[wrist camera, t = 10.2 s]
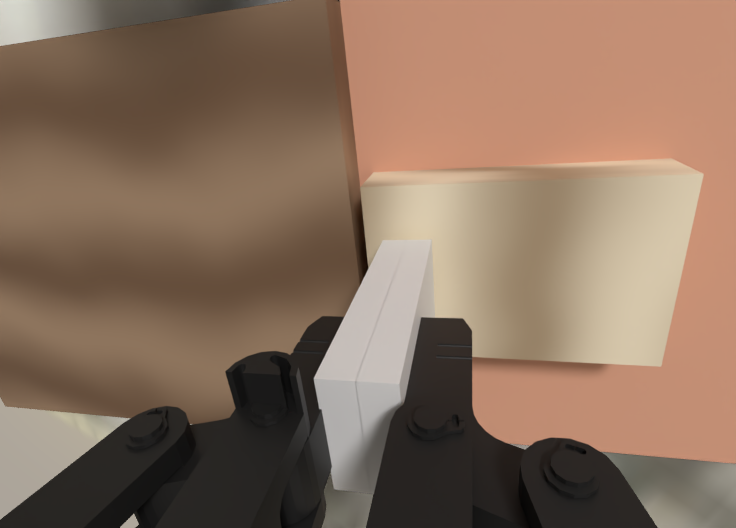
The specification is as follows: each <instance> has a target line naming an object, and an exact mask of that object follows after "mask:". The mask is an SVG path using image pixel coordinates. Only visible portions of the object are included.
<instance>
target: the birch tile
mask: <svg viewBox="0 0 736 528" xmlns="http://www.w3.org/2000/svg"><path fill="white" fill-rule="evenodd" d="M703 176H704V174H703V173H701V172H699V171H697V170H695V169H693V168H691V167H688V166H686V165H684V164H682V163H680V162H678V161H676V160H674V159H672V158H669V159H647V160H626V161H605V162H584V163H562V164H541V165H520V166H498V167H477V168H456V169H434V170H413V171H392V172H373V173H372V175H371V176H370V177H369V178H368V179H367V180H366V181H365V182H364V184H363V185H362V186H361V187H360V191H361V201H362V211H363V220H364V230H365V240H366V250H367V260H368V269H369V267H370V265H371V263H372V261H373V259H374V257H375V255H376V253H377V251H378V249H379V247H380V245H381V243H382V241H383V240H431V239H432V255H433V279H434V302H435V318H463V319H464V320H465V322H466V323H467V324H468V326H469V327H470V328H471V330H472V357H483V358H502V359H522V360H541V361H560V362H580V363H599V364H619V365H638V366H658V367H661V365H662V361H663V356H664V352H665V347H666V343H667V338H668V334H669V329H670V325H671V320H672V316H673V311H674V307H675V302H676V298H677V293H678V288H679V284H680V279H681V275H682V270H683V266H684V261H685V257H686V252H687V248H688V243H689V239H690V234H691V230H692V225H693V221H694V216H695V212H696V207H697V203H698V198H699V194H700V189H701V185H702V180H703Z"/></svg>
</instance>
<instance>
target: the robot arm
mask: <svg viewBox="0 0 736 528" xmlns="http://www.w3.org/2000/svg"><path fill="white" fill-rule="evenodd" d="M225 373H226V377H227V380H228V384H229V387H230V391H231V394H232V398H233V401H234V405H235V408H236V409H235V410H234V412H233V413H232V415H231V416H230V418H226V419H222V420H217V421H211V422H205V423H199V424H193V425H190V423H189V421H188V418H187V415H186V412H184V411H183V410H181V409H180V408H178V407H171V406H163V407H157V408H152V409H149V410H147V411H144V412H142V413H139V414H137V415H135V416H134V417H132V418H131V419H129V420H128V421H126V422H124V423H123V424H122V425H120V426H119V427H118V428H117V429H115V430H114V431H113V432H112V433H110V434H109V435H108V436H106V437H105V438H104V439H103V440H101V441H100V442H99V443H98V444H96V445H95V446H94V447H92V448H91V449H90V450H89V451H88V452H86V453H85V454H84V455H82V456H81V457H80V458H79V459H77V460H76V461H75V462H73V463H72V464H71V465H70V466H68V467H67V468H66V469H64V470H63V471H62V472H61V473H59V474H58V475H57V476H55V477H54V478H53V479H52V480H50V481H49V482H48V483H47V484H45V485H44V486H43V487H42V488H40V489H39V490H38V491H36V492H35V493H34V494H33V495H31V496H30V497H29V498H27V499H26V500H25V501H24V502H22V503H21V504H20V505H19V506H17V507H16V508H15V509H13V510H12V511H11V512H10V513H8V514H7V515H6V516H4V517H3V518H2V519H1V520H0V528H120V526H122V524H123V523H124V522H126V521H127V520H128V518H130V517H131V516H132V515H133V514H135V516H136V518H137V521H138V523H139V525H138V526H137V527H136V528H321V527H322V524H323V521H324V518H325V511H326V501H325V496H324V488H325V485H326V482H327V479H328V477H329V474H330V471H331V475H332V480H333V486H334V489H335V490H343V491H351V492H359V493H367V494H374V495H373V500H372V504H371V508H370V513H369V517H368V521H367V526H366V528H657V526H656V525H655V523H654V521H653V520H652V518H651V517H650V515H649V514H648V512H647V511H646V509H645V508H644V506H643V505H642V503H641V502H640V500H639V499H638V497H637V496H636V494H635V493H634V491H633V490H632V488H631V487H630V485H629V484H628V482H627V481H626V479H625V478H624V476H623V475H622V473H621V472H620V470H619V469H618V468H617V467H616V466H615V465H614V464H613V463H612V461H611V460H610V459H609V458H608V457H607V456H606V455H604V454H603V453H601V452H600V451H598V450H596V449H595V448H593V447H592V446H590V445H588V444H585V443H582V442H579V441H576V440H573V439H570V438H553V437H551V438H547V439H543V440H539V441H536V442H534V443H533V444H532V445H531V446H529V447H528V448H527V449H526V450H524V449H521V448H518V447H516V446H513V445H510V444H507V443H505V442H503V441H501V440H499V439H496V438H495V437H493V436H492V435H491V434H489V433H488V432H486V431H485V430H484V429H483V428H482V426H481V425H480V424H479V423H478V421H477V420H476V418H475V416H474V412H473V407H472V330H471V328H470V327H469V326H468V324H467V323H466V322H465V320H464V319H463V318H435V302H434V279H433V255H432V239H431V240H383V241H382V243H381V245H380V247H379V249H378V251H377V253H376V255H375V257H374V259H373V261H372V263H371V265H370V267H369V269H368V271H367V273H366V275H365V277H364V279H363V281H362V283H361V285H360V287H359V289H358V291H357V293H356V295H355V297H354V299H353V301H352V303H351V305H350V307H349V309H348V311H347V313H346V315H345V317H338V316H322V317H320V318H319V319H317V320H316V321H315V322H313V323H312V324H311V325H309V326H308V327H307V329H306V330H305V332H304V334H303V335H302V337H301V338H300V342H298V343H297V345H296V346H295V348H294V350H293V353H291V354H290V355H289V354H288V353H284V352H279V351H267V352H259V353H256V354H253V355H249V356H247V357H245V358H243V359H241V360H239V361H237V362H235V363H234V364H233V365H232V366H231V367H230V368H229V369H227V370H226V371H225Z"/></svg>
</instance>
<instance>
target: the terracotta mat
mask: <svg viewBox="0 0 736 528" xmlns="http://www.w3.org/2000/svg"><path fill="white" fill-rule="evenodd" d="M340 7H341V16H342V25H343V34H344V43H345V52H346V61H347V71H348V80H349V89H350V98H351V107H352V116H353V126H354V135H355V144H356V153H357V162H358V171H359V180H360V187H361V186H362V185H363V184H364V182H365V181H366V180H367V179H368V178H369V177H370V176H371V175H372V173H373V172H392V171H413V170H434V169H456V168H477V167H498V166H520V165H541V164H562V163H584V162H605V161H626V160H647V159H669V158H672V159H674V160H676V161H678V162H680V163H682V164H684V165H686V166H688V167H691V168H693V169H695V170H697V171H699V172H701V173H703V174H704V176H703V180H702V185H701V189H700V194H699V198H698V203H697V207H696V212H695V216H694V221H693V225H692V230H691V234H690V239H689V243H688V248H687V252H686V257H685V261H684V266H683V270H682V275H681V279H680V284H679V288H678V293H677V298H676V302H675V307H674V311H673V316H672V320H671V325H670V329H669V334H668V338H667V343H666V347H665V352H664V356H663V361H662V365H661V367H658V366H638V365H619V364H599V363H580V362H560V361H541V360H522V359H502V358H483V357H472V407H473V412H474V416H475V418H476V420H477V421H478V423H479V424H480V425H481V426H482V428H483V429H484V430H485V431H486V432H488V433H489V434H491V435H492V436H493V437H495V438H496V439H499V440H501V441H503V442H505V443H511V444H522V445H532V444H533V443H534V442H536V441H539V440H543V439H547V438H551V437H553V438H570V439H573V440H576V441H579V442H582V443H585V444H588V445H590V446H592V447H593V448H595V449H596V450H598V451H601V452H612V453H623V454H635V455H646V456H657V457H668V458H679V459H691V460H702V461H713V462H724V463H736V0H340Z"/></svg>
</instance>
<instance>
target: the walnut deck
mask: <svg viewBox="0 0 736 528" xmlns="http://www.w3.org/2000/svg"><path fill="white" fill-rule="evenodd" d="M367 271H368V260H367V250H366V240H365V230H364V220H363V211H362V201H361V191H360V180H359V171H358V162H357V153H356V144H355V135H354V126H353V116H352V107H351V98H350V89H349V80H348V71H347V61H346V52H345V43H344V34H343V25H342V16H341V7H340V2H339V1H337V0H291V1H285V2H278V3H272V4H266V5H259V6H253V7H247V8H240V9H234V10H228V11H221V12H215V13H208V14H202V15H196V16H189V17H183V18H177V19H170V20H164V21H158V22H151V23H145V24H138V25H132V26H126V27H119V28H113V29H107V30H100V31H94V32H88V33H81V34H75V35H69V36H62V37H56V38H49V39H43V40H37V41H30V42H24V43H18V44H11V45H5V46H0V397H1V399H2V401H3V403H4V405H5V406H7V407H18V408H29V409H39V410H50V411H60V412H71V413H81V414H92V415H102V416H113V417H124V418H132V417H134V416H135V415H137V414H139V413H142V412H144V411H147V410H149V409H152V408H157V407H163V406H171V407H178V408H180V409H181V410H183V411H184V412H186V415H187V418H188V421H189V423H190V424H199V423H205V422H211V421H217V420H222V419H226V418H230V416H231V415H232V413H233V412H234V410H235V409H236V408H235V405H234V401H233V398H232V394H231V391H230V387H229V384H228V380H227V377H226V373H225V371H226V370H227V369H229V368H230V367H231V366H232V365H233V364H234V363H235V362H237V361H239V360H241V359H243V358H245V357H247V356H249V355H253V354H256V353H259V352H267V351H279V352H284V353H288V354H289V355H290V354H291V353H293V350H294V348H295V346H296V345H297V343H298V342H300V338H301V337H302V335H303V334H304V332H305V330H306V329H307V327H308V326H309V325H311V324H312V323H313V322H315V321H316V320H317V319H319V318H320V317H322V316H338V317H345V315H346V313H347V311H348V309H349V307H350V305H351V303H352V301H353V299H354V297H355V295H356V293H357V291H358V289H359V287H360V285H361V283H362V281H363V279H364V277H365V275H366V273H367Z"/></svg>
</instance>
